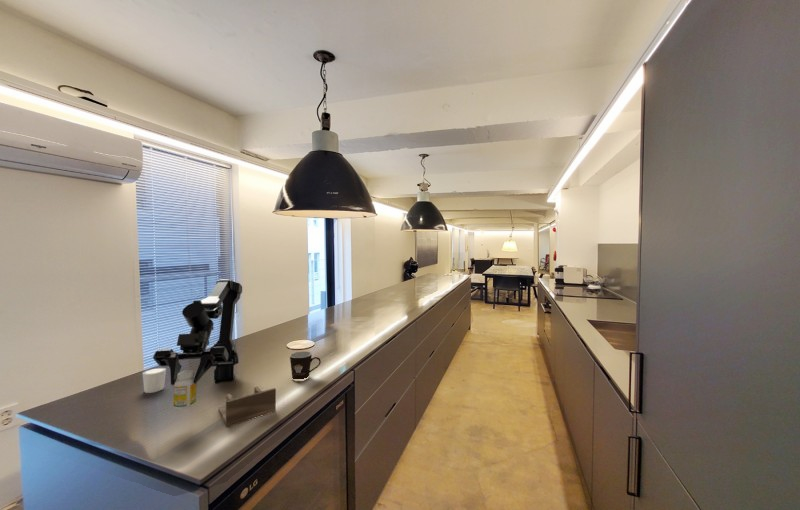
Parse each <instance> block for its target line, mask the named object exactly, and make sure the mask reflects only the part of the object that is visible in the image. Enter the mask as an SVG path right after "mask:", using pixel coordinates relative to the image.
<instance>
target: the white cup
mask: <svg viewBox="0 0 800 510" xmlns="http://www.w3.org/2000/svg"><path fill="white" fill-rule="evenodd" d="M166 373H167V368H165V367H157V368H151V369H147V370H145V371H143V372H142V381H143V391H144V393H145V394H150V393H157V392H159V391H161V390H163V389H164V388H165V381H166Z"/></svg>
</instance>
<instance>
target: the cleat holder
mask: <svg viewBox="0 0 800 510" xmlns="http://www.w3.org/2000/svg"><path fill="white" fill-rule="evenodd" d="M253 388H254V389H253V391H254V392H253V393H252V394H248V395H244V396H240V397H237V398H234V397H233V396H232V395H231V393H227V394H226V401H225V405H222V406H218V409H217V410H218V413H219V415H220V418H221V419H222V421H223V423H224V425H225V426H226V428H228V427H231V426H234V425H237V424H240V423H243V422H246V421H249V419H250V420H253V419H256V418H255V417H257V418H259V417H258V416H260V417H262V416H261V415H263V416H266V415H268V413H269V414H272V413H275V412H277V411H276V402H277V401H276V399H277V397H276V395H277V394H276V393H277V389H276V388H275V387H273V388H270V389H267V390H263V391H262V390H261V388H259V386H255V387H253ZM274 411H275V412H274ZM271 412H272V413H271ZM265 414H266V415H265ZM252 418H253V419H252Z"/></svg>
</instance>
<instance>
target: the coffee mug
mask: <svg viewBox="0 0 800 510" xmlns="http://www.w3.org/2000/svg"><path fill="white" fill-rule="evenodd" d="M312 354H313V353H312V352H311V351H307V350H306V351H305V350H303V351H302V350H299V351H295V352H292V353H290V354H289V360H290V368H291V379H292V378H293V379H304V378H307V377H308V376H309V377H310V373H311V372H313V371H314V370H316V369H317V368H318V367H319V366H320V365H321V363H322V361H321V359H320V357H317V356H315V357H312V356H313V355H312ZM315 359H316V360H318V364H317V365H316V366H315V367H313V368H312V369H311V363H312V361H314V360H315Z"/></svg>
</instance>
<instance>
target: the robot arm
mask: <svg viewBox="0 0 800 510" xmlns="http://www.w3.org/2000/svg"><path fill="white" fill-rule="evenodd" d="M241 294H243V286H242V284H241V283H239V282H236V281H233V280H232V279H230V278H229V279H228V278H227V279H223V278H222V279H217V281H216V284H215V286H214V287H213V289H212V290H211V292H210V293H209V295H208V296H207V297H206V298H203V299H200V300H198V299H197V300H193V301H192V303H190V304H188V305H186V306H185V307H183V309H182V311H181V313H182V316H183V318H184V320H185V321H186V323H187V325H188V326H189V327H190V328H191V329H190V332H189V333H180V334H178V338H177V342H176V346H177V347H179V350H180V351H182V352H176V351H174V350H173V349H172V348H168V349H167V348H165V349H164V348H163V349H157V350H156V351H155V352H154V354H153V356H152V359H153V360H154V362H155V363H157V365H158V367H169V369H170V373H169V375H170V385H171V386H174V383H175V382H176V381H177V380H178V378H177V374H178V373H179V372H181V369H182V365H181V363H180V361H181V360H183V361H184V360H195V359H196V360H197V359H198V360H199V364H198V367H197V369H196V372H195V374H194V377H195V378H194V384H196V383H198V381H200V379H202V377H203V376H204V375H205V373H207V372H208V371H209V370H210V369H211V368H212V367H215V368H214V370H213V381H214V384H220V383H225V382H226V383H227V382H231V381H232V382H233V381H234V380H235V375H236V374H235V365H237V364H239V363H240V362H239V361H240V360H239V359H240V358H239V357H240V356H239V353H238V351H237V349H236V344H235V343H234V340H233V333H234V332H233V330H234V323H235V322H234V321H235V320H234V319H235V311H236V304H237V303H238V301H239V300H240V299H241ZM220 316H221V317H220ZM219 317H220V318H221V320H220V327H219V336H218V340H217V341H216V343H214V344H213V346H211V347H210V349H209V351H206V349H207V347H208V346H209V345H210V338H211V335H212V331H213V330H214V328H215V327H214V324H215V323H214V322H213V319H218V318H219ZM196 385H197V384H196Z"/></svg>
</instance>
